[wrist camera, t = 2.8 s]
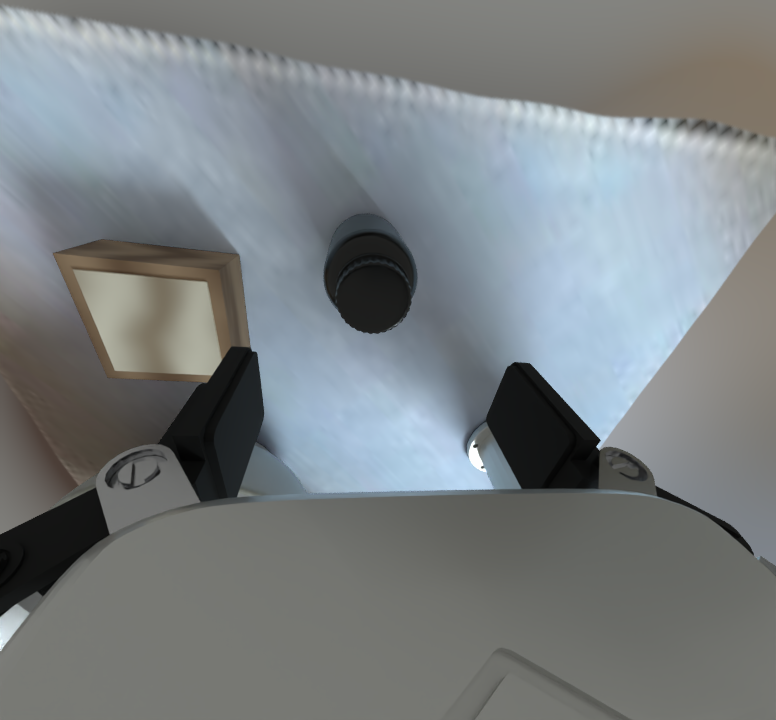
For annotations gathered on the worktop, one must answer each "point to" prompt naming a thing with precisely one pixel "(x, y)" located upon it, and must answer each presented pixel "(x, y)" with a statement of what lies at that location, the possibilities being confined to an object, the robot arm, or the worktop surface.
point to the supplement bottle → (370, 274)
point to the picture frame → (157, 307)
